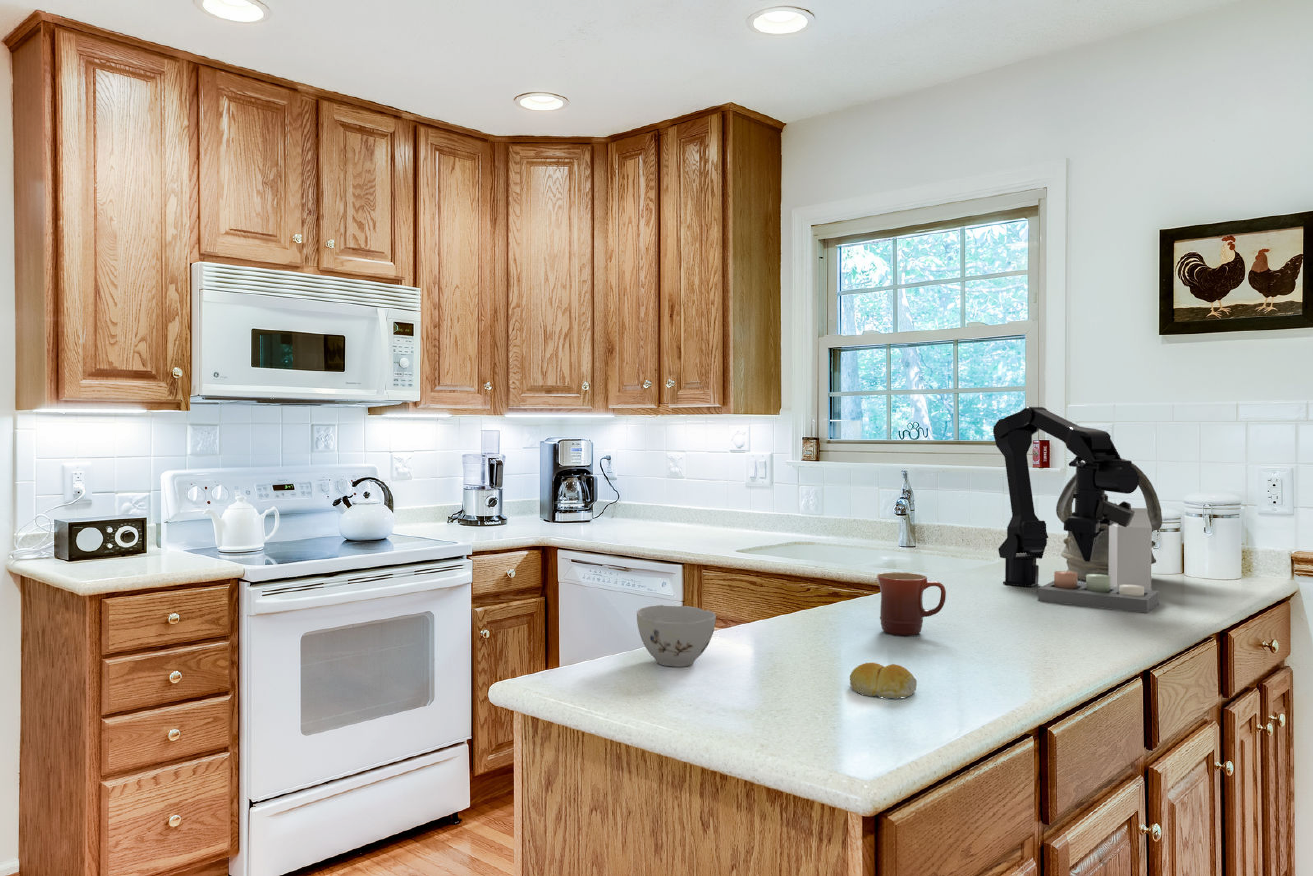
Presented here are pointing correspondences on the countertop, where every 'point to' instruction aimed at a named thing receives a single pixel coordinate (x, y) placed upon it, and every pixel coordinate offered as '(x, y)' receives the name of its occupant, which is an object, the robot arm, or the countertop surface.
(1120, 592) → the cream button
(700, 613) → the teacup
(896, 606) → the mug
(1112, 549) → the milk carton
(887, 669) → the bread roll
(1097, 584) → the sage button
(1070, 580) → the terracotta button
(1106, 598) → the panel
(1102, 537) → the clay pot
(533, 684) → the countertop surface
